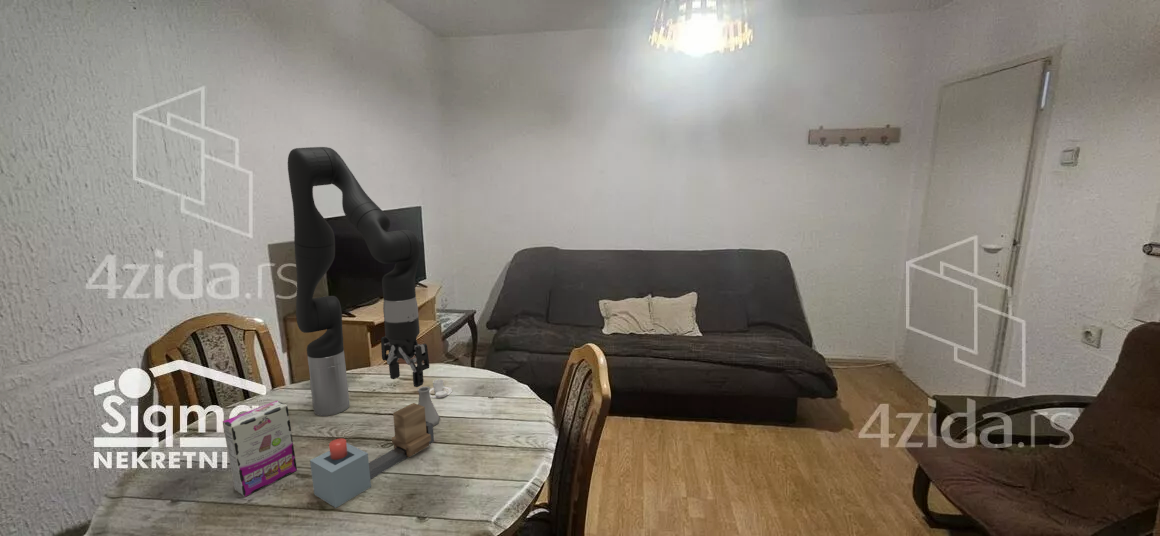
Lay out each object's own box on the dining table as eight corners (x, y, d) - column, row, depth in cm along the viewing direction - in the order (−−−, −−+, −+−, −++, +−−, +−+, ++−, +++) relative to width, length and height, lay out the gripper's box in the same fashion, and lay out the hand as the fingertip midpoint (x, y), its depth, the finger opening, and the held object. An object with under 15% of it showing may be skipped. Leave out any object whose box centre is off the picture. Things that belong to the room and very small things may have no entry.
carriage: (392, 449, 117) (389, 411, 115) (412, 438, 122) (409, 401, 120) (411, 458, 113) (408, 418, 111) (431, 446, 118) (428, 408, 116)
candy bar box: (286, 464, 112) (277, 399, 109) (297, 470, 110) (289, 404, 107) (232, 490, 103) (221, 420, 100) (243, 498, 100) (232, 426, 97)
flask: (431, 431, 127) (429, 395, 125) (407, 428, 128) (404, 393, 126) (444, 417, 134) (442, 384, 132) (421, 415, 135) (418, 382, 133)
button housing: (314, 494, 101) (309, 460, 100) (349, 474, 108) (345, 442, 107) (335, 508, 97) (331, 472, 96) (371, 486, 104) (367, 453, 102)
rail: (356, 478, 107) (353, 458, 106) (426, 438, 123) (424, 420, 122) (364, 482, 105) (362, 462, 104) (434, 441, 121) (432, 423, 120)
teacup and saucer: (447, 400, 145) (446, 387, 144) (421, 400, 145) (420, 387, 144) (455, 387, 154) (454, 375, 153) (430, 387, 154) (429, 375, 153)
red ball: (327, 456, 101) (325, 443, 100) (341, 449, 103) (340, 436, 103) (336, 461, 99) (334, 448, 98) (350, 454, 102) (349, 441, 101)
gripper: (368, 316, 112) (374, 381, 115) (407, 325, 104) (413, 394, 107) (395, 308, 118) (400, 370, 121) (435, 317, 110) (439, 382, 113)
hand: (406, 381), depth 114 cm, fingers open, 8 cm apart
